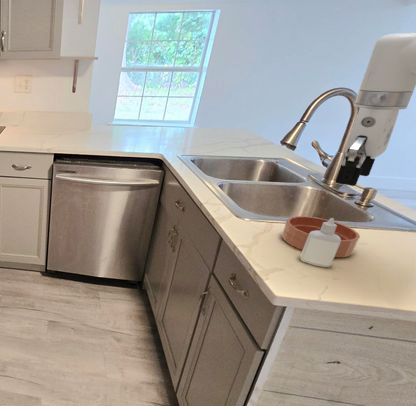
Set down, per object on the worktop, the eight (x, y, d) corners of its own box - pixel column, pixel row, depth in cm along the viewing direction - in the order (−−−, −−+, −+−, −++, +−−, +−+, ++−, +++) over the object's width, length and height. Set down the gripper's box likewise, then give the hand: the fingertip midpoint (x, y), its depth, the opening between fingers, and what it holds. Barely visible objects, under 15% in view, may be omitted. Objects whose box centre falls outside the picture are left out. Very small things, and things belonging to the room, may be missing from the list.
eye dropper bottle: (323, 270, 86) (342, 225, 81) (296, 259, 91) (312, 216, 86) (333, 265, 88) (352, 221, 83) (306, 255, 92) (322, 212, 88)
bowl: (359, 247, 95) (366, 230, 93) (341, 264, 88) (349, 247, 86) (292, 227, 106) (298, 211, 104) (272, 241, 99) (278, 225, 97)
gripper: (398, 106, 67) (364, 193, 73) (418, 96, 75) (386, 175, 82) (343, 102, 72) (316, 183, 79) (368, 94, 81) (341, 167, 88)
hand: (351, 179), depth 80 cm, fingers open, 9 cm apart
